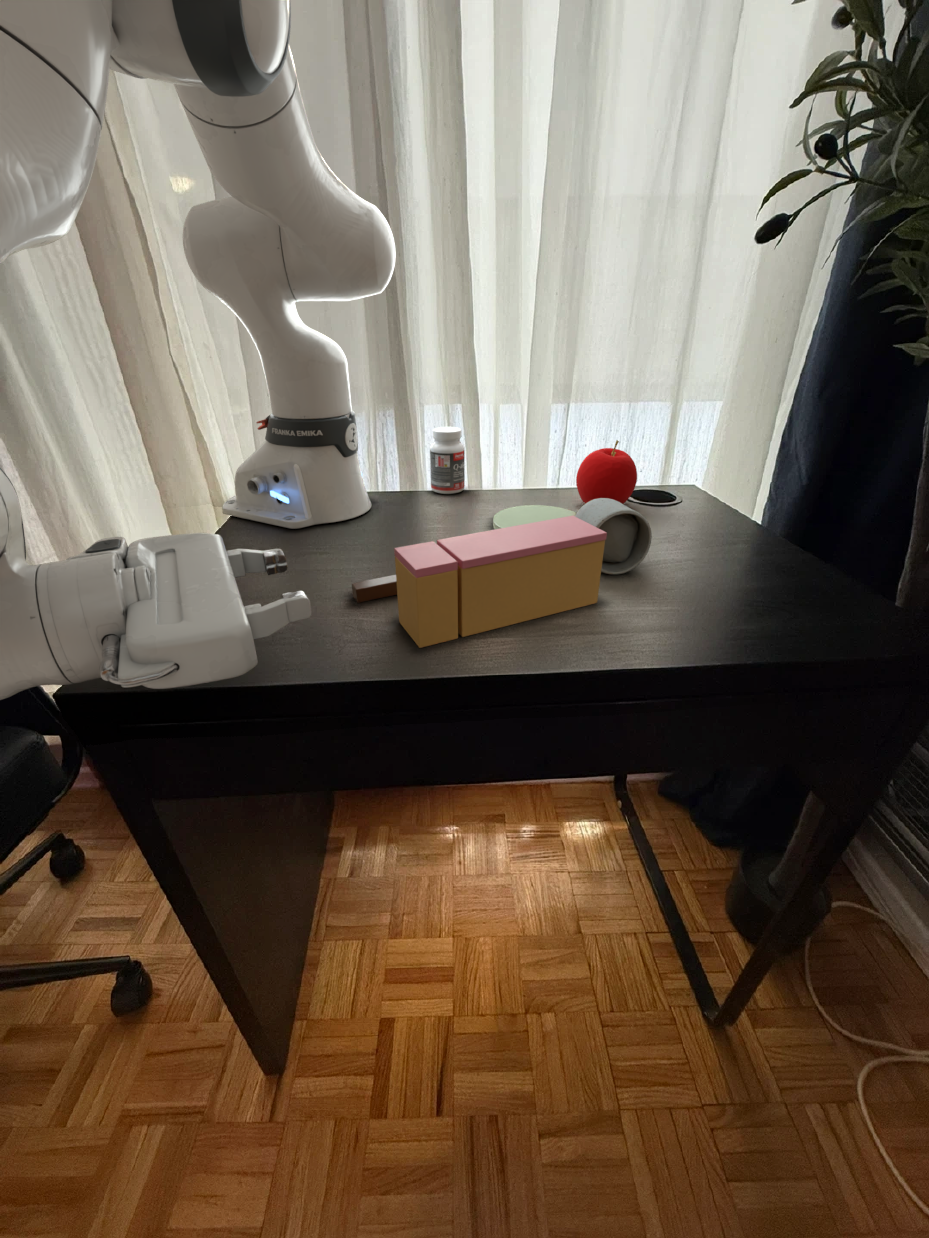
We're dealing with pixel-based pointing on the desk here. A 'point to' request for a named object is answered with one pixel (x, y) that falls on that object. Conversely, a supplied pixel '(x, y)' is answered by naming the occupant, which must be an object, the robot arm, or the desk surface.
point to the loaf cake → (525, 572)
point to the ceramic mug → (618, 533)
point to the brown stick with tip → (374, 588)
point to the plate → (528, 515)
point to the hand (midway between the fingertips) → (296, 579)
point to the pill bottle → (447, 461)
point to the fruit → (606, 475)
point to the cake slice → (427, 593)
